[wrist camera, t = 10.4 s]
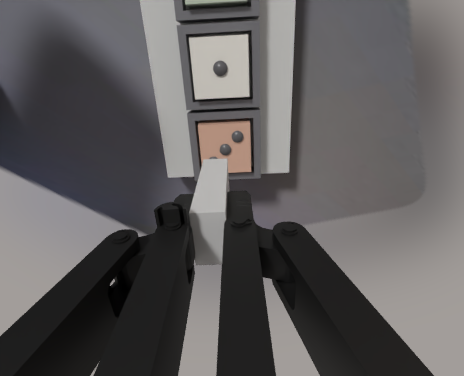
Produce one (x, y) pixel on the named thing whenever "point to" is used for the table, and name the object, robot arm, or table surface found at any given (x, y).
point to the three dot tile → (226, 142)
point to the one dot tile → (220, 66)
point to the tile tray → (195, 110)
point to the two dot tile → (213, 3)
